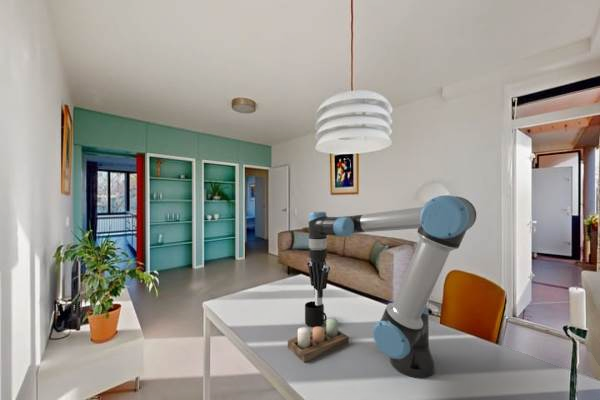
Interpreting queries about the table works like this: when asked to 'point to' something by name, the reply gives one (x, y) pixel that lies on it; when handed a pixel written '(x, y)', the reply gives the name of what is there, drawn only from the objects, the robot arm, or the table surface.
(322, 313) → the mug
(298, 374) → the table surface
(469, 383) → the table surface
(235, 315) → the table surface
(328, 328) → the pale green egg
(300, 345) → the white egg
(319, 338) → the peach egg
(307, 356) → the wooden tray
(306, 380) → the table surface
